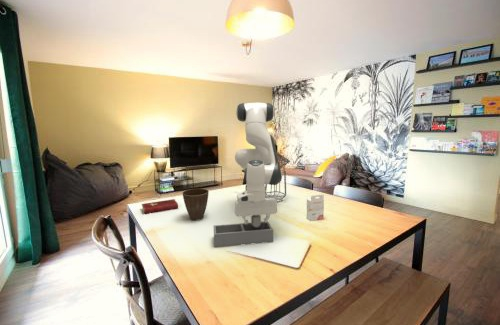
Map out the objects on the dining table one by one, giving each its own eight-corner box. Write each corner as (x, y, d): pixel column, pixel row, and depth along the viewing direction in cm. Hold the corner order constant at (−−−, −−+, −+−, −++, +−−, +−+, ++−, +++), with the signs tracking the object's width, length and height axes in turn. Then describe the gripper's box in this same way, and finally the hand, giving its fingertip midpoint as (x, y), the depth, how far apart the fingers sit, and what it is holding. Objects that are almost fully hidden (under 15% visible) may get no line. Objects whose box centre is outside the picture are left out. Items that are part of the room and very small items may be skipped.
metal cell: (250, 234, 114) (250, 213, 112) (259, 233, 115) (259, 212, 113) (252, 238, 110) (252, 216, 108) (261, 237, 110) (261, 215, 109)
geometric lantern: (261, 198, 176) (261, 152, 171) (279, 196, 182) (280, 151, 178) (271, 204, 161) (272, 154, 157) (290, 202, 168) (292, 153, 164)
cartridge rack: (213, 237, 114) (213, 225, 113) (267, 232, 118) (267, 221, 118) (214, 247, 104) (214, 234, 103) (273, 241, 109) (273, 229, 108)
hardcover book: (178, 209, 155) (178, 203, 154) (143, 215, 145) (143, 208, 144) (174, 204, 165) (174, 198, 165) (142, 209, 155) (141, 203, 155)
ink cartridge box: (318, 216, 140) (319, 192, 138) (323, 219, 135) (324, 194, 133) (306, 217, 138) (306, 193, 136) (310, 221, 133) (311, 195, 131)
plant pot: (203, 223, 130) (202, 196, 128) (178, 222, 133) (177, 194, 130) (213, 214, 144) (212, 189, 142) (190, 212, 147) (189, 188, 145)
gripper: (275, 192, 114) (275, 219, 116) (233, 194, 111) (234, 222, 113) (279, 195, 108) (279, 224, 110) (235, 198, 105) (235, 227, 107)
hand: (256, 223), depth 111 cm, fingers open, 8 cm apart
